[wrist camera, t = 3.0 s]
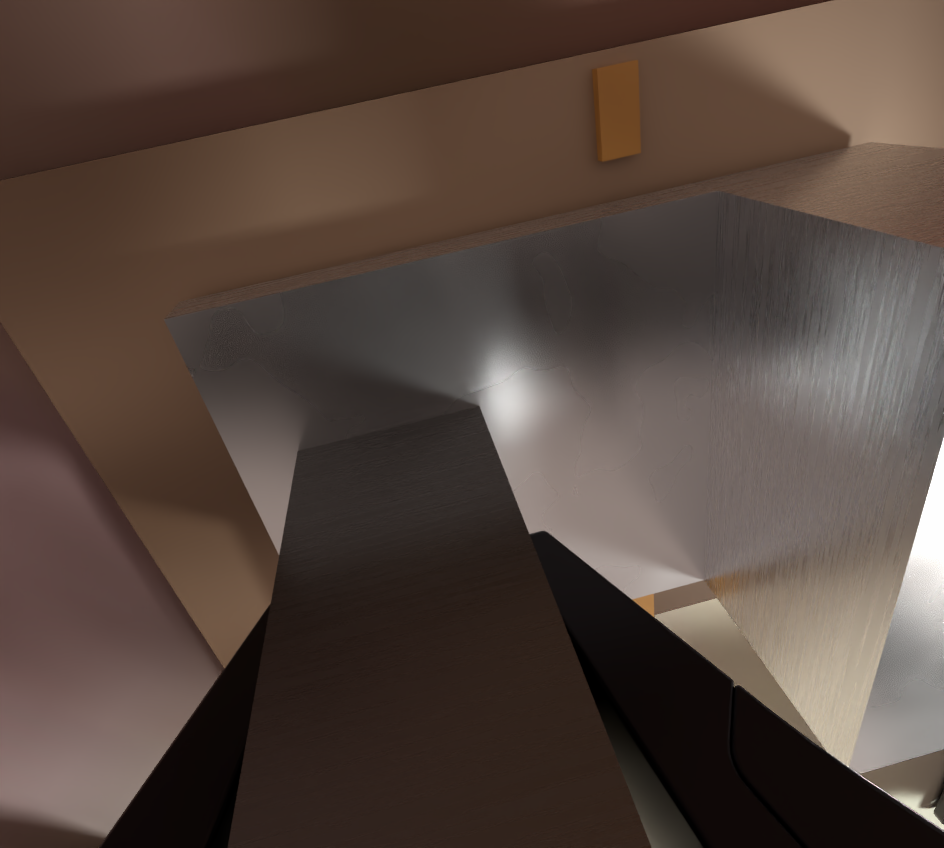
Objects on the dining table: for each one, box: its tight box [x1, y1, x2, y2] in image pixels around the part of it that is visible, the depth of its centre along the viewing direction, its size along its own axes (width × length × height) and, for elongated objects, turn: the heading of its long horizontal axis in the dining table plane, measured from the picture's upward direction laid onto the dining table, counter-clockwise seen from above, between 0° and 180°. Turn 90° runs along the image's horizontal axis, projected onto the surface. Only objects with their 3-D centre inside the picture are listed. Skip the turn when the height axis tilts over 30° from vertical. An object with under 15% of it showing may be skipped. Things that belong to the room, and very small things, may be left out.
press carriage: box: [164, 142, 944, 848], centre depth 8 cm, size 8×11×8 cm
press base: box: [0, 0, 944, 669], centre depth 10 cm, size 12×24×6 cm, turn 100°
